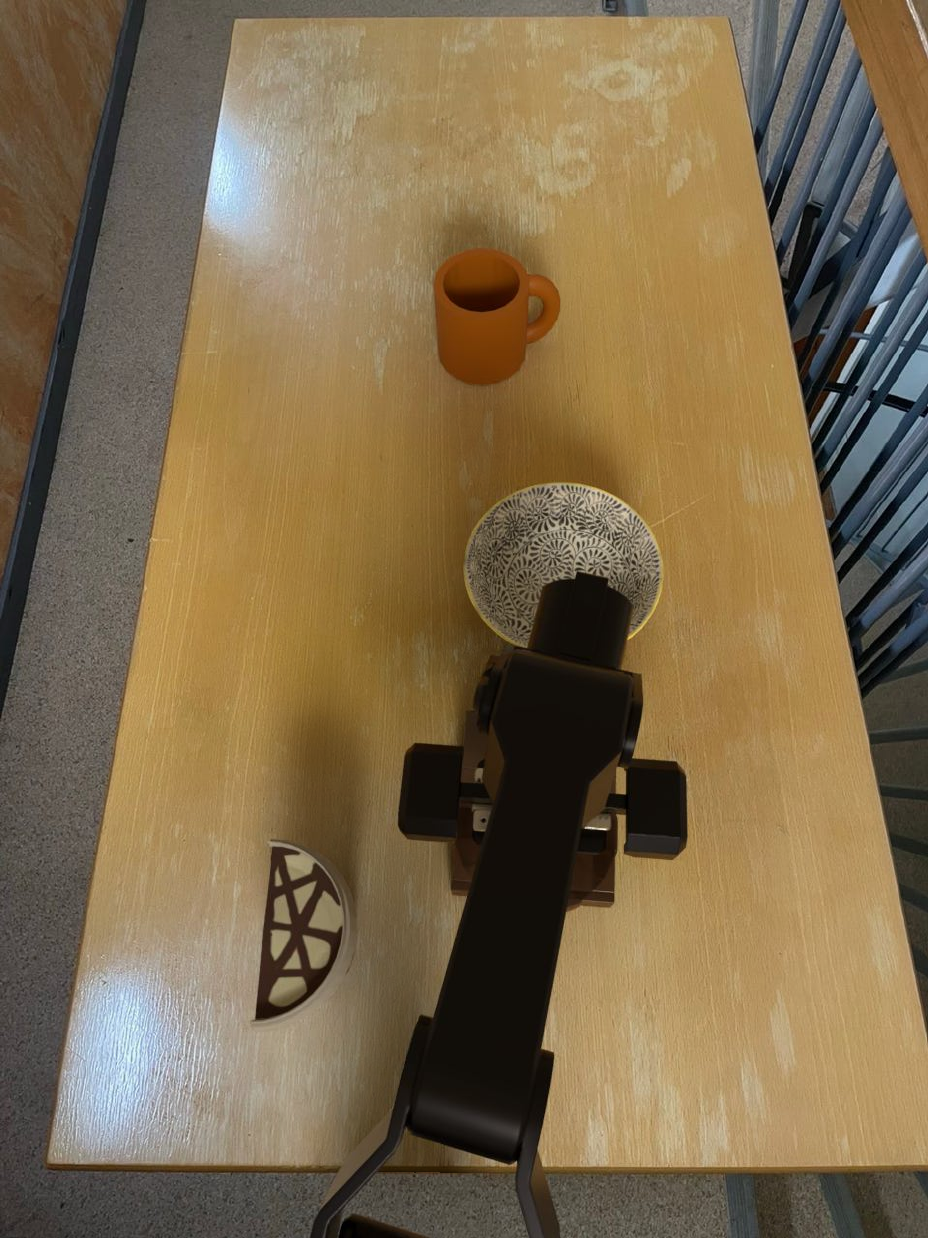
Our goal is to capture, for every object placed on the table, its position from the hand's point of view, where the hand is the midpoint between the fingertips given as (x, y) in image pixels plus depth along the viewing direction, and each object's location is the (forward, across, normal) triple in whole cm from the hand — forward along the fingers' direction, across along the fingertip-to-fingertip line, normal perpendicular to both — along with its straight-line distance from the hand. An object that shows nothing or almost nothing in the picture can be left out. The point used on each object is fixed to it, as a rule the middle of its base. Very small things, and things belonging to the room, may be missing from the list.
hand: (535, 827), depth 69 cm
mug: (+3, +6, -48) cm, 49 cm away
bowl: (+3, -1, -20) cm, 20 cm away
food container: (+4, +15, +9) cm, 18 cm away
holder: (+3, 0, -2) cm, 4 cm away
